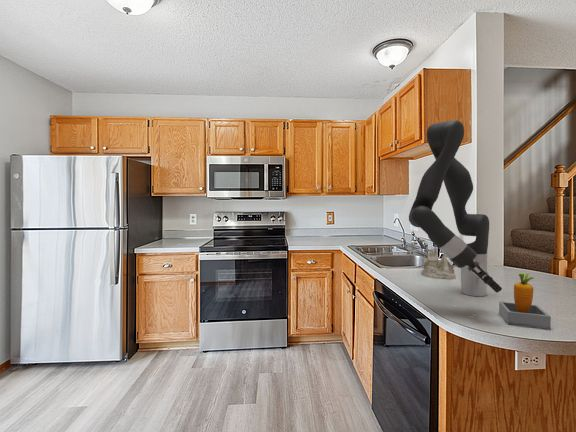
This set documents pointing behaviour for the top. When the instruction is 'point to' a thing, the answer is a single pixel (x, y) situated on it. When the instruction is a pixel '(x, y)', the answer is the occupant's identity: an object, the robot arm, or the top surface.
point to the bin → (525, 316)
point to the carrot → (523, 294)
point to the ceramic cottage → (437, 267)
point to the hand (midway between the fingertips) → (496, 287)
